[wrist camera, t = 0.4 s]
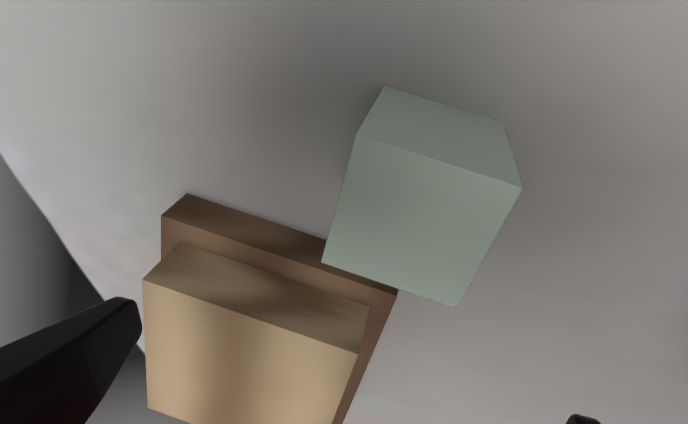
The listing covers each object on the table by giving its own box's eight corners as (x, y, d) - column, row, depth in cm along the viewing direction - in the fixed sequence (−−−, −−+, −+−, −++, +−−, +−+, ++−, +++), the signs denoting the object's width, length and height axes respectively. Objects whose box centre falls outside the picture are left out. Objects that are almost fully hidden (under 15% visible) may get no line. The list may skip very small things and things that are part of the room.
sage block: (502, 122, 17) (523, 187, 12) (455, 220, 20) (456, 308, 15) (384, 85, 17) (356, 134, 12) (354, 187, 20) (320, 262, 15)
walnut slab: (403, 258, 22) (396, 295, 20) (348, 390, 29) (338, 431, 26) (193, 187, 23) (160, 215, 20) (186, 332, 29) (161, 366, 27)
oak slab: (370, 306, 20) (358, 354, 18) (327, 419, 26) (314, 468, 23) (179, 241, 21) (142, 279, 18) (177, 365, 26) (147, 407, 24)
